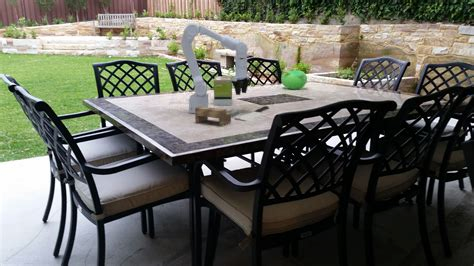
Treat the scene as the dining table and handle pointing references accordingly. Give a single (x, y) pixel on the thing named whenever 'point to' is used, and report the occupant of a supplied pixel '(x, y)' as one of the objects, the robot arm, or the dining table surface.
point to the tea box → (223, 91)
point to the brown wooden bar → (233, 112)
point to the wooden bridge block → (212, 115)
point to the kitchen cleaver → (252, 114)
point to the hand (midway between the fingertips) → (241, 93)
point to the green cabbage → (294, 79)
